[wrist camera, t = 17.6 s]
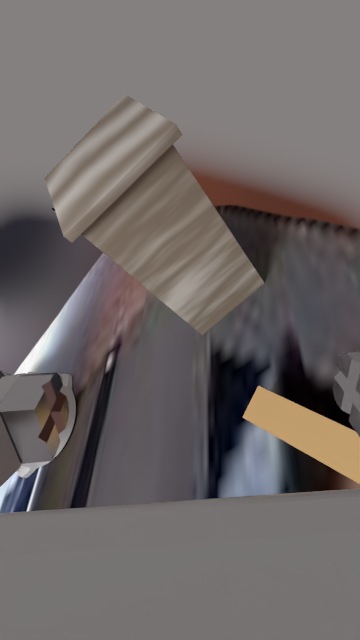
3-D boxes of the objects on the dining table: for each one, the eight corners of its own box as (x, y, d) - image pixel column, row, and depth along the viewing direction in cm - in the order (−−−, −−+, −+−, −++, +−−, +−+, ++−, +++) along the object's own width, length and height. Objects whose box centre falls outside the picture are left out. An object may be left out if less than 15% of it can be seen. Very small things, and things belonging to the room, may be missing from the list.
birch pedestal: (274, 282, 47) (176, 124, 28) (200, 343, 49) (63, 236, 30) (221, 232, 57) (124, 93, 38) (162, 284, 60) (44, 178, 41)
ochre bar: (517, 513, 25) (530, 513, 22) (500, 563, 25) (511, 570, 22) (269, 395, 40) (258, 385, 37) (255, 424, 39) (242, 417, 36)
